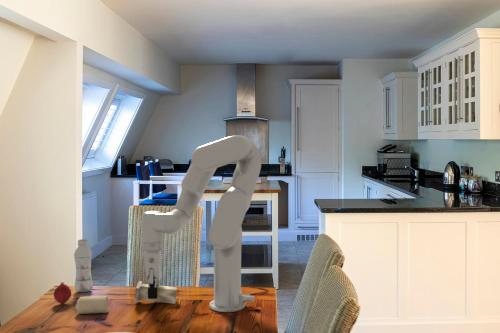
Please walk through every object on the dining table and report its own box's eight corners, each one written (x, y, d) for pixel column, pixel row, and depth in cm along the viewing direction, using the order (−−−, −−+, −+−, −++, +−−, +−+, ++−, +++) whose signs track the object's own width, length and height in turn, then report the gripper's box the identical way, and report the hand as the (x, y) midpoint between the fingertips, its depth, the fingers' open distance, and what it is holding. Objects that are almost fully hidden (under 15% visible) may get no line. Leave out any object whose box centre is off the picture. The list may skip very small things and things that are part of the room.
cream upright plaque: (176, 298, 178) (177, 285, 178) (174, 306, 170) (176, 292, 170) (136, 294, 176) (138, 281, 176) (133, 302, 168) (135, 288, 168)
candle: (104, 302, 160) (73, 303, 159) (106, 316, 162) (75, 317, 161) (107, 292, 165) (77, 293, 164) (108, 306, 167) (78, 307, 166)
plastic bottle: (89, 294, 183) (89, 241, 182) (71, 294, 183) (71, 241, 182) (95, 289, 189) (94, 238, 188) (78, 289, 189) (77, 238, 188)
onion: (74, 304, 172) (74, 281, 172) (58, 308, 168) (58, 285, 167) (66, 300, 176) (66, 278, 176) (51, 304, 172) (50, 282, 171)
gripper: (161, 251, 164) (161, 304, 165) (165, 241, 180) (165, 289, 181) (139, 251, 164) (139, 304, 165) (144, 241, 180) (145, 290, 181)
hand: (153, 296), depth 173 cm, fingers closed on cream upright plaque, 2 cm apart
